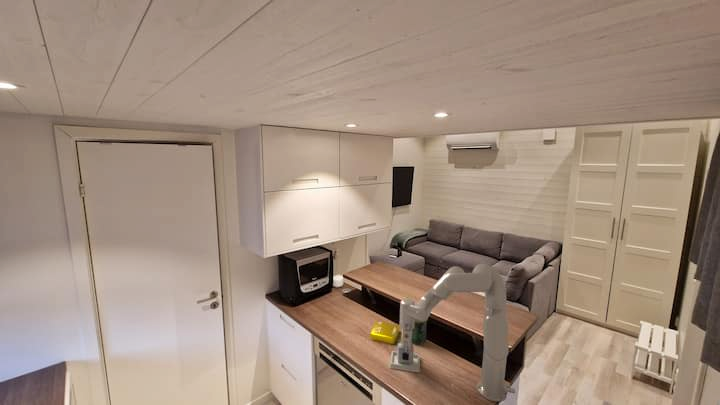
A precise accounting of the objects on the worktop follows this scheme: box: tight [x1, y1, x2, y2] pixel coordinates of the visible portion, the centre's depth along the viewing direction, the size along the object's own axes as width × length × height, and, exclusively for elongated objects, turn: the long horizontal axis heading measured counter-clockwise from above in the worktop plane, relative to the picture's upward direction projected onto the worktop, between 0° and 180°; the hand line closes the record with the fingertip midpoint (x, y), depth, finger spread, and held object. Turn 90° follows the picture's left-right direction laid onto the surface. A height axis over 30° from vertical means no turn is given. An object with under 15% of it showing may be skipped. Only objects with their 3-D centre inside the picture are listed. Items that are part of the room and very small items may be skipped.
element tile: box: [370, 320, 400, 345], centre depth 177 cm, size 15×15×5 cm
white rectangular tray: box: [389, 350, 421, 373], centre depth 153 cm, size 15×11×2 cm
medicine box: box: [396, 342, 415, 363], centre depth 152 cm, size 8×4×9 cm, turn 92°
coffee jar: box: [412, 319, 428, 346], centre depth 171 cm, size 10×8×19 cm
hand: (405, 355), depth 152 cm, fingers closed on medicine box, 5 cm apart
